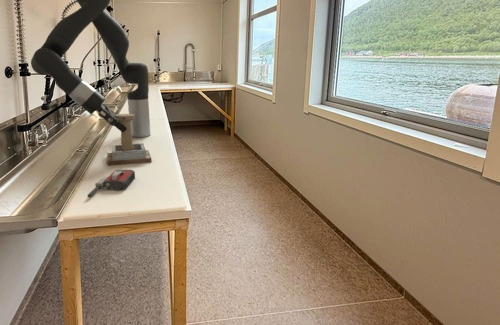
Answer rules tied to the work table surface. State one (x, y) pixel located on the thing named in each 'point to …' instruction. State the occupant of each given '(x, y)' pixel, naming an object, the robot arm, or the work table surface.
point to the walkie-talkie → (114, 181)
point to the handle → (127, 135)
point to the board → (132, 161)
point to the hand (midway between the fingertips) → (124, 128)
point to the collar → (128, 152)
